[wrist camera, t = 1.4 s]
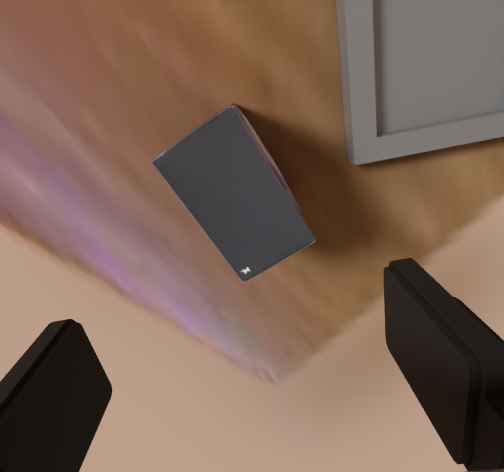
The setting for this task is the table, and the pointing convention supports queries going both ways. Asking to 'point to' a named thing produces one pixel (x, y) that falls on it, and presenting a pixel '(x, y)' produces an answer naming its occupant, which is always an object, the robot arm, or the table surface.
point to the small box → (236, 193)
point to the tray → (420, 75)
